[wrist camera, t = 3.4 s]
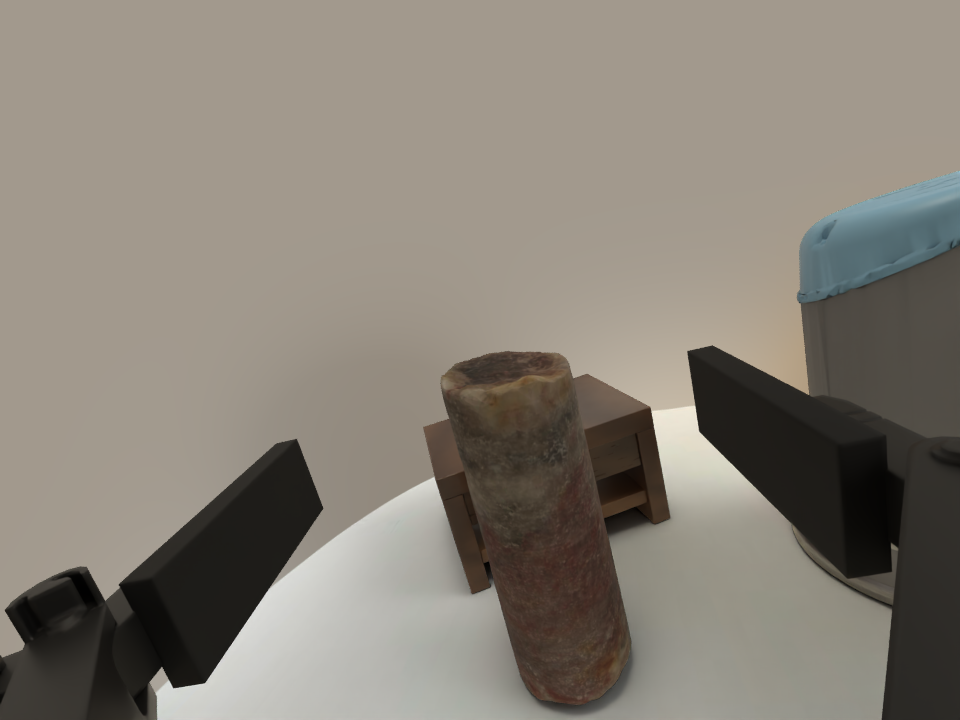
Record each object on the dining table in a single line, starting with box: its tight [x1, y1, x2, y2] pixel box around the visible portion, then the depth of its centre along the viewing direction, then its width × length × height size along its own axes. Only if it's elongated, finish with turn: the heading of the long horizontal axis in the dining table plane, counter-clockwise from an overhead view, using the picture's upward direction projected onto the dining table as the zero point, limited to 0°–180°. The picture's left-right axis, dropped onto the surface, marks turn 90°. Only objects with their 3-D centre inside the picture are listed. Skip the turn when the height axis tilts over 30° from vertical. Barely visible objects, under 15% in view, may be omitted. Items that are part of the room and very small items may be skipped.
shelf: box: [423, 374, 670, 594], centre depth 42 cm, size 18×12×10 cm, turn 101°
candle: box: [441, 351, 631, 705], centre depth 27 cm, size 8×7×20 cm
